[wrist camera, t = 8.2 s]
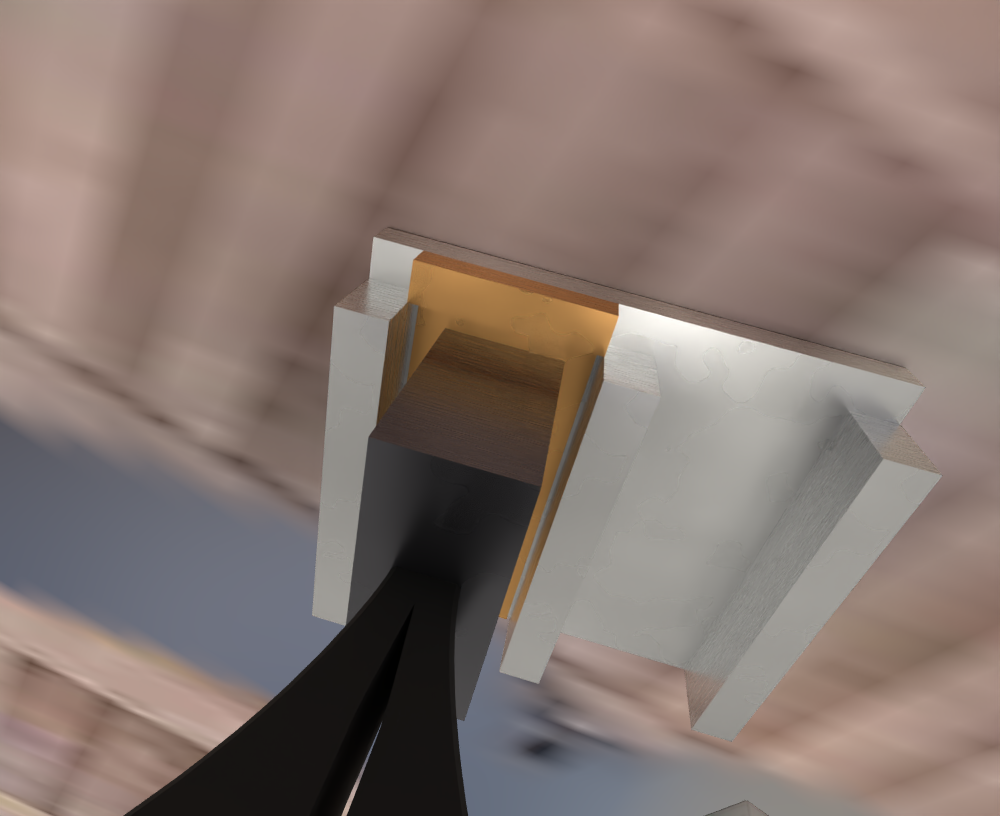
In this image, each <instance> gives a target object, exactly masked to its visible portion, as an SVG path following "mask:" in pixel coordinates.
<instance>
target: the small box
mask: <svg viewBox="0 0 1000 816" xmlns="http://www.w3.org/2000/svg"><path fill="white" fill-rule="evenodd" d="M706 816H768V815H767V814H766V813H764V812H763V811H761V810H760V809H758V808H757V807H756V806H754V805H753V804H751V803H750V802H748V801H743V802H740V803H738V804H735V805H732V806H729V807H727V808H724V809H722V810H719V811H716V812H714V813H711V814H708V815H706Z"/></svg>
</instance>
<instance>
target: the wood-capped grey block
mask: <svg viewBox="0 0 1000 816" xmlns="http://www.w3.org/2000/svg"><path fill="white" fill-rule="evenodd" d="M564 364H565V361H562V360H558V359H555V358H551V357H547V356H544V355H540V354H537V353H533V352H529V351H526V350H522V349H519V348H515V347H511V346H508V345H504V344H501V343H497V342H493V341H490V340H486V339H483V338H479V337H475V336H472V335H468V334H465V333H461V332H457V331H454V330H450V329H447V328H445V329H444V330H443V332H442V333H441V335H440V336H439V337H438V339H437V340H436V342H435V343H434V345H433V346H432V347H431V349H430V350H429V352H428V353H427V354H426V356H425V357H424V359H423V360H422V362H421V363H420V364H419V366H418V367H417V369H416V370H415V371H414V373H413V374H412V376H411V377H410V379H409V380H408V381H407V383H406V384H405V386H404V387H403V388H402V390H401V391H400V393H399V394H398V396H397V397H396V398H395V400H394V401H393V403H392V404H391V406H390V407H389V408H388V410H387V411H386V413H385V414H384V415H383V417H382V418H381V420H380V421H379V423H378V424H377V425H376V427H375V428H374V430H373V431H372V432H371V434H370V435H369V437H368V444H367V452H366V461H365V469H364V477H363V486H362V494H361V502H360V511H359V519H358V528H357V536H356V544H355V553H354V561H353V569H352V578H351V586H350V594H349V603H348V611H347V619H346V625H347V624H348V623H349V622H350V621H351V619H352V618H353V617H354V616H355V615H356V614H357V612H358V611H359V610H360V609H361V608H362V607H363V605H364V604H365V603H366V602H367V601H368V599H369V598H370V597H371V596H372V594H373V593H374V592H375V590H376V589H377V588H378V587H379V585H380V584H381V582H382V581H383V580H384V578H385V577H386V576H387V574H388V573H389V571H390V569H392V568H395V567H400V568H403V569H407V570H410V571H414V572H417V573H420V574H424V575H427V576H430V577H434V578H437V579H441V580H444V581H448V582H451V583H454V584H457V585H458V587H459V588H460V589H461V591H460V596H459V601H458V607H457V616H456V627H455V654H454V664H455V700H456V716H457V719H460V720H463V721H464V720H465V717H466V714H467V711H468V708H469V705H470V702H471V699H472V695H473V693H474V690H475V687H476V684H477V681H478V678H479V674H480V671H481V668H482V665H483V662H484V659H485V656H486V653H487V650H488V647H489V644H490V641H491V638H492V635H493V632H494V629H495V626H496V623H497V620H498V617H499V614H500V611H501V608H502V605H503V602H504V599H505V596H506V593H507V590H508V587H509V584H510V581H511V578H512V575H513V572H514V569H515V566H516V563H517V560H518V557H519V554H520V550H521V547H522V544H523V541H524V538H525V535H526V532H527V529H528V526H529V523H530V520H531V517H532V514H533V511H534V508H535V505H536V502H537V499H538V496H539V493H540V490H541V487H542V482H543V476H544V471H545V466H546V460H547V455H548V450H549V444H550V439H551V433H552V428H553V423H554V417H555V412H556V407H557V401H558V396H559V391H560V385H561V380H562V375H563V369H564Z"/></svg>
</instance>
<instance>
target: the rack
mask: <svg viewBox="0 0 1000 816" xmlns="http://www.w3.org/2000/svg"><path fill="white" fill-rule="evenodd" d="M445 328H447V329H450V330H454V331H457V332H461V333H465V334H468V335H472V336H475V337H479V338H483V339H486V340H490V341H493V342H497V343H501V344H504V345H508V346H511V347H515V348H519V349H522V350H526V351H529V352H533V353H537V354H540V355H544V356H547V357H551V358H555V359H558V360H562V361H565V364H564V369H563V375H562V380H561V385H560V391H559V396H558V401H557V407H556V412H555V417H554V423H553V428H552V433H551V439H550V444H549V450H548V455H547V460H546V466H545V471H544V476H543V482H542V487H541V490H540V493H539V496H538V499H537V502H536V505H535V508H534V511H533V514H532V517H531V520H530V523H529V526H528V529H527V532H526V535H525V538H524V541H523V544H522V547H521V550H520V554H519V557H518V560H517V563H516V566H515V569H514V572H513V575H512V578H511V581H510V584H509V587H508V590H507V593H506V596H505V599H504V602H503V605H502V608H501V611H500V614H499V617H501V618H504V619H507V617H510V619H509V625H508V630H507V635H506V640H505V645H504V650H503V655H502V660H501V666H500V671H499V672H501V673H505V674H508V675H511V676H515V677H518V678H521V679H525V680H528V681H531V682H535V683H538V684H539V682H540V679H541V677H542V675H543V672H544V670H545V667H546V665H547V663H548V660H549V658H550V656H551V653H552V651H553V649H554V646H555V644H556V642H557V639H558V637H559V635H560V633H564V634H567V635H570V636H574V637H577V638H581V639H584V640H587V641H591V642H594V643H597V644H601V645H604V646H608V647H611V648H614V649H618V650H621V651H624V652H628V653H631V654H635V655H638V656H641V657H645V658H648V659H651V660H655V661H658V662H662V663H665V664H668V665H672V666H675V667H678V668H682V669H684V672H685V680H686V689H687V697H688V705H689V714H690V722H691V730H695V731H698V732H701V733H704V734H708V735H711V736H714V737H718V738H721V739H724V740H728V741H731V742H732V741H733V740H734V738H735V737H736V736H737V734H738V733H739V732H740V731H741V729H742V728H743V727H744V726H745V724H746V723H747V722H748V721H749V719H750V718H751V717H752V716H753V714H754V713H755V712H756V710H757V709H758V708H759V707H760V705H761V704H762V703H763V702H764V700H765V699H766V698H767V697H768V695H769V694H770V693H771V692H772V690H773V689H774V688H775V686H776V685H777V684H778V683H779V681H780V680H781V679H782V678H783V676H784V675H785V674H786V673H787V671H788V670H789V669H790V668H791V666H792V665H793V664H794V662H795V661H796V660H797V659H798V657H799V656H800V655H801V654H802V652H803V651H804V650H805V649H806V647H807V646H808V645H809V644H810V642H811V641H812V640H813V638H814V637H815V636H816V635H817V633H818V632H819V631H820V630H821V628H822V627H823V626H824V625H825V623H826V622H827V621H828V620H829V618H830V617H831V616H832V615H833V613H834V612H835V611H836V609H837V608H838V607H839V606H840V604H841V603H842V602H843V601H844V599H845V598H846V597H847V596H848V594H849V593H850V592H851V591H852V589H853V588H854V587H855V585H856V584H857V583H858V582H859V580H860V579H861V578H862V577H863V575H864V574H865V573H866V572H867V570H868V569H869V568H870V567H871V565H872V564H873V563H874V561H875V560H876V559H877V558H878V556H879V555H880V554H881V553H882V551H883V550H884V549H885V548H886V546H887V545H888V544H889V543H890V541H891V540H892V539H893V537H894V536H895V535H896V534H897V532H898V531H899V530H900V529H901V527H902V526H903V525H904V524H905V522H906V521H907V520H908V519H909V517H910V516H911V515H912V513H913V512H914V511H915V510H916V508H917V507H918V506H919V505H920V503H921V502H922V501H923V500H924V498H925V497H926V496H927V495H928V493H929V492H930V491H931V490H932V488H933V487H934V486H935V484H936V483H937V482H938V481H939V479H940V478H941V477H942V476H943V475H942V474H941V473H940V472H939V470H938V469H937V468H936V467H935V466H934V465H933V463H932V462H931V461H930V460H929V459H928V457H927V456H926V455H925V454H924V453H923V451H922V450H921V449H920V448H919V447H918V445H917V444H916V443H915V442H914V441H913V440H912V438H911V437H910V436H909V435H908V434H907V432H906V431H905V430H904V429H903V428H902V426H901V425H900V424H901V422H902V421H903V419H904V418H905V416H906V415H907V414H908V412H909V411H910V409H911V408H912V406H913V405H914V404H915V402H916V401H917V399H918V398H919V396H920V395H921V394H922V392H923V391H924V389H925V388H926V387H925V386H924V385H923V384H922V383H921V382H920V381H919V380H918V379H917V378H915V377H914V376H913V375H912V374H911V373H910V372H909V371H908V370H907V369H906V368H903V367H900V366H896V365H892V364H889V363H885V362H881V361H877V360H874V359H870V358H866V357H863V356H859V355H855V354H852V353H848V352H844V351H841V350H837V349H833V348H830V347H826V346H822V345H819V344H815V343H811V342H808V341H804V340H800V339H797V338H793V337H789V336H786V335H782V334H778V333H774V332H771V331H767V330H763V329H760V328H756V327H752V326H749V325H745V324H741V323H738V322H734V321H730V320H727V319H723V318H719V317H716V316H712V315H708V314H705V313H701V312H697V311H694V310H690V309H686V308H683V307H679V306H675V305H671V304H668V303H664V302H660V301H657V300H653V299H649V298H646V297H642V296H638V295H635V294H631V293H627V292H624V291H620V290H616V289H613V288H609V287H605V286H602V285H598V284H594V283H591V282H587V281H583V280H579V279H576V278H572V277H568V276H565V275H561V274H557V273H554V272H550V271H546V270H543V269H539V268H535V267H532V266H528V265H524V264H521V263H517V262H513V261H510V260H506V259H502V258H499V257H495V256H491V255H488V254H484V253H480V252H476V251H473V250H469V249H465V248H462V247H458V246H454V245H451V244H447V243H443V242H440V241H436V240H432V239H429V238H425V237H421V236H418V235H414V234H410V233H407V232H403V231H399V230H396V229H392V228H387V229H385V230H384V231H382V232H381V233H379V234H377V235H376V236H374V238H373V247H372V257H371V267H370V277H369V279H368V280H366V281H365V282H364V283H363V284H361V285H360V286H359V287H358V288H356V289H355V290H354V291H353V292H351V293H350V294H349V295H348V296H346V297H345V298H344V299H343V300H341V301H340V302H339V303H337V304H336V305H335V306H334V316H333V330H332V344H331V358H330V372H329V386H328V400H327V414H326V428H325V442H324V456H323V470H322V484H321V498H320V512H319V526H318V540H317V554H316V568H315V582H314V597H313V610H312V611H313V612H312V616H315V617H318V618H322V619H325V620H328V621H332V622H335V623H338V624H342V625H345V626H346V619H347V611H348V603H349V594H350V586H351V578H352V569H353V561H354V553H355V544H356V536H357V528H358V519H359V511H360V502H361V494H362V486H363V477H364V469H365V461H366V452H367V444H368V437H369V435H370V434H371V432H372V431H373V430H374V428H375V427H376V425H377V424H378V423H379V421H380V420H381V418H382V417H383V415H384V414H385V413H386V411H387V410H388V408H389V407H390V406H391V404H392V403H393V401H394V400H395V398H396V397H397V396H398V394H399V393H400V391H401V390H402V388H403V387H404V386H405V384H406V383H407V381H408V380H409V379H410V377H411V376H412V374H413V373H414V371H415V370H416V369H417V367H418V366H419V364H420V363H421V362H422V360H423V359H424V357H425V356H426V354H427V353H428V352H429V350H430V349H431V347H432V346H433V345H434V343H435V342H436V340H437V339H438V337H439V336H440V335H441V333H442V332H443V330H444V329H445Z"/></svg>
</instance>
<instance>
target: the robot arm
mask: <svg viewBox="0 0 1000 816" xmlns="http://www.w3.org/2000/svg"><path fill="white" fill-rule="evenodd" d="M460 591H461V589H460V588H459V587H458V585H457V584H454V583H451V582H448V581H444V580H441V579H437V578H434V577H430V576H427V575H424V574H420V573H417V572H414V571H410V570H407V569H403V568H400V567H395V568H392V569H390V571H389V573H388V574H387V576H386V577H385V578H384V580H383V581H382V582H381V584H380V585H379V587H378V588H377V589H376V590H375V592H374V593H373V594H372V596H371V597H370V598H369V599H368V601H367V602H366V603H365V604H364V605H363V607H362V608H361V609H360V610H359V611H358V612H357V614H356V615H355V616H354V617H353V618H352V619H351V621H350V622H349V623H348V624H347V625H346V626H345V627H344V628H343V629H342V630H341V631H340V633H339V634H338V635H337V636H336V637H335V638H334V639H333V640H332V641H331V642H330V644H329V645H328V646H327V647H326V648H325V649H324V650H323V651H322V652H321V653H320V654H319V655H318V656H317V657H316V658H315V659H314V660H313V661H312V662H311V663H310V664H309V665H308V666H307V667H306V668H305V669H304V670H303V671H302V672H301V673H300V674H299V675H298V676H297V677H296V678H295V679H294V680H293V681H292V682H291V683H289V685H287V686H286V687H285V688H284V689H283V690H282V691H281V692H280V693H279V694H278V695H277V696H275V697H274V698H273V699H272V700H271V701H270V702H269V703H268V704H267V705H265V706H264V707H263V708H262V709H261V710H260V711H259V712H257V713H256V714H255V715H254V716H253V717H252V718H251V719H249V720H248V721H247V722H246V723H245V724H244V725H242V726H241V727H240V728H239V729H238V730H236V731H235V732H234V733H233V734H232V735H230V736H229V737H228V738H227V739H225V740H224V741H223V742H222V743H220V744H219V745H218V746H217V747H215V748H214V749H213V750H212V751H210V752H209V753H208V754H207V755H205V756H204V757H203V758H202V759H200V760H199V761H198V762H197V763H195V764H194V765H193V766H191V767H190V768H189V769H187V770H186V771H185V772H183V773H182V774H181V775H179V776H178V777H177V778H175V779H174V780H173V781H171V782H170V783H169V784H167V785H166V786H164V787H163V788H162V789H160V790H159V791H157V792H156V793H155V794H153V795H152V796H150V797H149V798H148V799H146V800H145V801H143V802H142V803H141V804H139V805H138V806H136V807H135V808H134V809H132V810H131V811H129V812H128V813H127V814H125V815H124V816H341V815H342V813H343V810H344V808H345V805H346V803H347V801H348V798H349V796H350V794H351V791H352V789H353V787H354V785H355V782H356V780H357V778H358V776H359V773H360V771H361V769H362V766H363V764H364V762H365V760H366V757H367V755H368V753H369V750H370V748H371V746H372V744H373V741H374V739H375V737H376V734H377V732H378V730H379V727H380V725H381V728H380V730H379V733H378V735H377V738H376V741H375V743H374V746H373V749H372V751H371V754H370V757H369V759H368V762H367V764H366V767H365V770H364V772H363V775H362V778H361V780H360V783H359V785H358V788H357V791H356V793H355V796H354V798H353V801H352V803H351V806H350V809H349V811H348V814H347V816H468V812H467V806H466V799H465V792H464V784H463V777H462V769H461V761H460V752H459V741H458V729H457V716H456V700H455V664H454V654H455V627H456V616H457V607H458V601H459V596H460ZM381 723H382V724H381Z"/></svg>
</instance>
